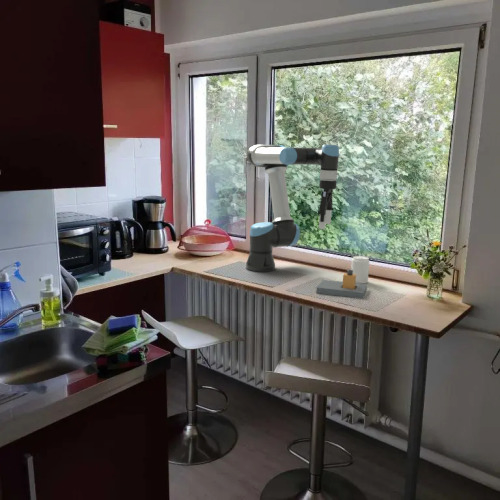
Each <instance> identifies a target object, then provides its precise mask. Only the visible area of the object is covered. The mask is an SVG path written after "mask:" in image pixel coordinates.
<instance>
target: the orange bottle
mask: <svg viewBox="0 0 500 500" xmlns="http://www.w3.org/2000/svg"><path fill="white" fill-rule="evenodd" d="M342 276H343V277H342V282H343V287H342V288H350V289H355V287H356V274H353V270H351V269H347V271H346V272H344V273H343V275H342Z"/></svg>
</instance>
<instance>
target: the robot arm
mask: <svg viewBox="0 0 500 500" xmlns="http://www.w3.org/2000/svg"><path fill="white" fill-rule="evenodd" d="M246 158H247V161H248V163H249V164H250V165H252V166H254V167H256V168H257V167H258V168H264V172H265V173H266V174H268V181H269V189H270V196H271V197H270V198H271V204H272V212H273V220H272V221H271V222H270V221H265V222H263V221H262V222H257V223H254V224H252V225H251V226H250V230H249V254H248V257H247V260H246V262H245V263H246V264H245V269H246V270H249V271H253V272H272V271H274V270H276V262H275V259H274V256H273V248H282V247H284V248H286V247H293V246H295V245H297V243H298V242H299V240H300V237H301V230H300V227H299V225H298V223H295V221H294V219H293V217H291V212H290V210H291V209H290V204H289V196H288V188H287V180H286V173H285V172H286V171H287V170H288V168H287V167H289V166H290V165H291V166H292V165H294V166H295V165H297V166H298V165H302V166H303V165H305V166H306V165H307V166H309V165H310V166H311V165H313V166H315V165H316V166H320V172H319V189H321V190H323V191H321V198H320V204H319V211H318V212H317V215H319V217H318V218H319V219H318V229H320V230H326V225H331V222H332V221H331V220H332V211H334V207H333V194H334V193H333V192H334V190H336V189H337V183H338V181H337V179H338V175H339V172H338V169H339V158H340V146H339V145H338V144H326V143H325V144H323V145H322V147H321V148H320V147H319V148H318V147H292V146H291V147H289V146H287V147H286V146H285V145H283V144H282V145H281V144H280V145H279V144H254V145H253V146H251V147H249V149H248V150H247V153H246Z"/></svg>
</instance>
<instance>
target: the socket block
mask: <svg viewBox="0 0 500 500" xmlns="http://www.w3.org/2000/svg"><path fill="white" fill-rule="evenodd" d="M342 287H343V281H339V280H337V281H336V280H330V279H329V280H328V279H322V280H321V282H320V283H319V284H318V285H317V286H316V289H315V291H316V294H320V295H321V294H323V295H331V296H337V297H338V296H339V297H346V296H347V297H346V298H348V297H349V298H354V297H356V298H357V299H362V298H363V299H364V297H365V295H366V292H367V291H366V290H368V284H367V283H365V284H357V283H356V287H355V289H350V288H342ZM356 298H355V299H356Z"/></svg>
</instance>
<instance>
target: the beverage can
mask: <svg viewBox="0 0 500 500" xmlns="http://www.w3.org/2000/svg"><path fill="white" fill-rule="evenodd" d="M369 259H370V258H369V257H367V256H364V255H353V256H352V259H351V266H350V270H353V274H356V283H357V284H367V283H368V281H369V274H370V273H369V272H370V260H369Z"/></svg>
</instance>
